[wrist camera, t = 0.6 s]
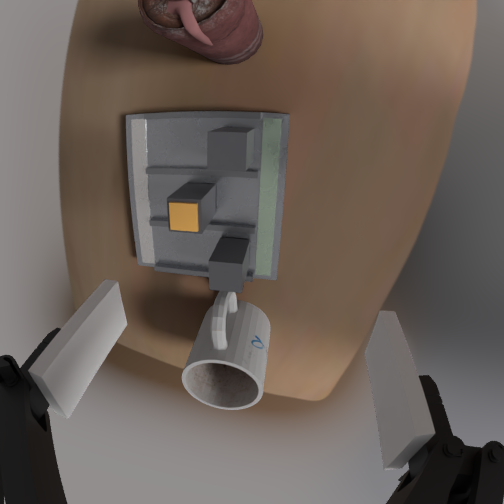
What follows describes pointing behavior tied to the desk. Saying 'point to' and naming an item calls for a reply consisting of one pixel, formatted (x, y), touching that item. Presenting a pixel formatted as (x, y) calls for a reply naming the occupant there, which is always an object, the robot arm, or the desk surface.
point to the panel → (195, 171)
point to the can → (207, 26)
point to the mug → (229, 355)
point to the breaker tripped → (191, 208)
